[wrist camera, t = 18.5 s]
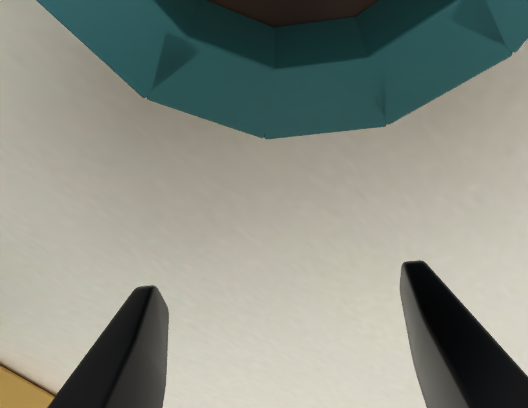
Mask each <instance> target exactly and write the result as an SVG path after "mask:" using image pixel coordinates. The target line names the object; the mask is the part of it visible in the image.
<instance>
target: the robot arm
mask: <svg viewBox="0 0 528 408" xmlns="http://www.w3.org/2000/svg"><path fill="white" fill-rule="evenodd" d="M400 295H401V301H402V306H403V311H404V317H405V322H406V327H407V333H408V338H409V343H410V349H411V354H412V359H413V363H414V367H415V371H416V375H417V378H418V381H419V384H420V388H421V391H422V394H423V397H424V400H425V403H426V407H427V408H528V376H527V375H526V374H525V373H524V372H523V371H522V370H521V368H520V367H519V366H518V365H517V364H516V363H515V362H514V361H513V360H512V358H511V357H510V356H509V355H508V354H507V353H506V352H505V351H504V350H503V348H502V347H501V346H500V345H499V344H498V343H497V342H496V341H495V339H494V338H493V337H492V336H491V335H490V334H489V333H488V332H487V331H486V329H485V328H484V327H483V326H482V325H481V324H480V323H479V322H478V321H477V319H476V318H475V317H474V316H473V315H472V314H471V313H470V312H469V311H468V309H467V308H466V307H465V306H464V305H463V304H462V303H461V302H460V300H459V299H458V298H457V297H456V296H455V295H454V294H453V293H452V292H451V290H450V289H449V288H448V287H447V286H446V285H445V284H444V283H443V282H442V280H441V279H440V278H439V277H438V276H437V275H436V274H435V273H434V271H433V270H432V269H431V268H430V267H429V266H428V265H427V264H426V263H425V262H424V261H420V260H419V261H408V262H404V263H403V264H402V267H401V278H400ZM168 324H169V312H168V307H167V305H166V303H165V301H164V299H163V297H162V296H161V294H160V292H159V290H158V288H157V287H156V286H141V287H137V288H136V289H135V290H134V291H133V292H132V293H131V295H130V296H129V297H128V299H127V300H126V301H125V303H124V304H123V305H122V307H121V308H120V310H119V311H118V312H117V314H116V315H115V316H114V318H113V319H112V320H111V322H110V323H109V324H108V326H107V327H106V328H105V330H104V331H103V333H102V334H101V335H100V337H99V338H98V339H97V341H96V342H95V343H94V345H93V346H92V347H91V349H90V350H89V351H88V353H87V354H86V356H85V357H84V358H83V360H82V361H81V362H80V364H79V365H78V366H77V368H76V369H75V370H74V372H73V373H72V374H71V376H70V377H69V379H68V380H67V381H66V383H65V384H64V385H63V387H62V388H61V389H60V391H59V392H58V393H57V395H56V396H55V398H54V399H53V400H52V402H51V403H50V404H49V406H48V407H47V408H162V407H163V400H164V394H165V386H166V372H167V348H168Z"/></svg>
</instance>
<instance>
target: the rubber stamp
mask: <svg viewBox="0 0 528 408" xmlns="http://www.w3.org/2000/svg"><path fill="white" fill-rule="evenodd" d="M54 398H55V396H54V395H52V394H50V393H48V392H46V391H45V390H43V389H41V388H39V387H38V386H36V385H34V384H32V383H31V382H29V381H27V380H25V379H23V378H22V377H20V376H18V375H16V374H15V373H13V372H11V371H9V370H8V369H6V368H4V367H2V366H0V408H47V407H48V406H49V404H50V403H51V402H52V400H53V399H54Z"/></svg>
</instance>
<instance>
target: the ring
mask: <svg viewBox="0 0 528 408" xmlns="http://www.w3.org/2000/svg"><path fill="white" fill-rule="evenodd" d="M37 1H38V2H39V3H40V4H41V5H42V6H43V7H44V8H45V9H46V10H48V11H49V12H50V13H51V14H52V15H53V16H54V17H55V18H56V19H57V20H58V21H60V22H61V23H62V24H63V25H64V26H65V27H66V28H67V29H68V30H69V31H71V32H72V33H73V34H74V35H75V36H76V37H77V38H78V39H79V40H80V41H81V42H83V43H84V44H85V45H86V46H87V47H88V48H89V49H90V50H91V51H92V52H94V53H95V54H96V55H97V56H98V57H99V58H100V59H101V60H102V61H103V62H104V63H106V64H107V65H108V66H109V67H110V68H111V69H112V70H113V71H114V72H115V73H117V74H118V75H119V76H120V77H121V78H122V79H123V80H124V81H125V82H126V83H127V84H129V85H130V86H131V87H132V88H133V89H134V90H135V91H136V92H137V93H138V94H140V95H141V96H142V97H143V98H146V97H147V99H148V100H150V101H153V102H156V103H159V104H162V105H165V106H168V107H171V108H174V109H177V110H180V111H183V112H186V113H189V114H192V115H195V116H198V117H201V118H204V119H207V120H210V121H212V122H215V123H218V124H221V125H224V126H227V127H230V128H233V129H236V130H239V131H242V132H245V133H248V134H251V135H254V136H257V137H260V138H265V139H274V138H283V137H292V136H302V135H311V134H320V133H329V132H339V131H348V130H357V129H367V128H376V127H385V126H386V124H391V123H393V122H395V121H396V120H398V119H400V118H402V117H403V116H405V115H407V114H409V113H411V112H412V111H414V110H416V109H418V108H419V107H421V106H423V105H425V104H427V103H428V102H430V101H432V100H434V99H435V98H437V97H439V96H441V95H443V94H444V93H446V92H448V91H450V90H451V89H453V88H455V87H457V86H459V85H460V84H462V83H464V82H466V81H467V80H469V79H471V78H473V77H475V76H476V75H478V74H480V73H482V72H483V71H485V70H487V69H489V68H491V67H492V66H494V65H496V64H498V63H499V62H501V61H503V60H505V59H507V58H508V57H510V56H511V55H512V52H516V51H517V50H518V49H519V48H520V47H521V46H522V44H523V43H524V42H525V41H526V40H527V38H528V0H378V1H377V2H375V3H374V4H373V5H371V6H370V7H368V8H367V9H365V10H364V11H363V12H361V13H360V14H358V15H357V16H355V17H349V18H341V19H334V20H326V21H319V22H311V23H304V24H297V25H289V26H282V27H274V28H273V27H271V26H268V25H266V24H264V23H261V22H259V21H256V20H254V19H251V18H249V17H246V16H244V15H241V14H239V13H236V12H234V11H231V10H229V9H227V8H224V7H222V6H219V5H217V4H214V3H212V2H209V1H207V0H37Z"/></svg>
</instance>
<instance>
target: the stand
mask: <svg viewBox="0 0 528 408" xmlns="http://www.w3.org/2000/svg"><path fill="white" fill-rule="evenodd" d="M207 1H209V2H212V3H214V4H217V5H219V6H222V7H224V8H227V9H229V10H231V11H234V12H236V13H239V14H241V15H244V16H246V17H249V18H251V19H254V20H256V21H259V22H261V23H264V24H266V25H268V26H271V27H273V28H274V27H282V26H289V25H297V24H304V23H311V22H319V21H326V20H334V19H341V18H349V17H355V16H357V15H358V14H360V13H361V12H363V11H364V10H365V9H367V8H368V7H370V6H371V5H373V4H374V3H375V2H377V1H378V0H207Z"/></svg>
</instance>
